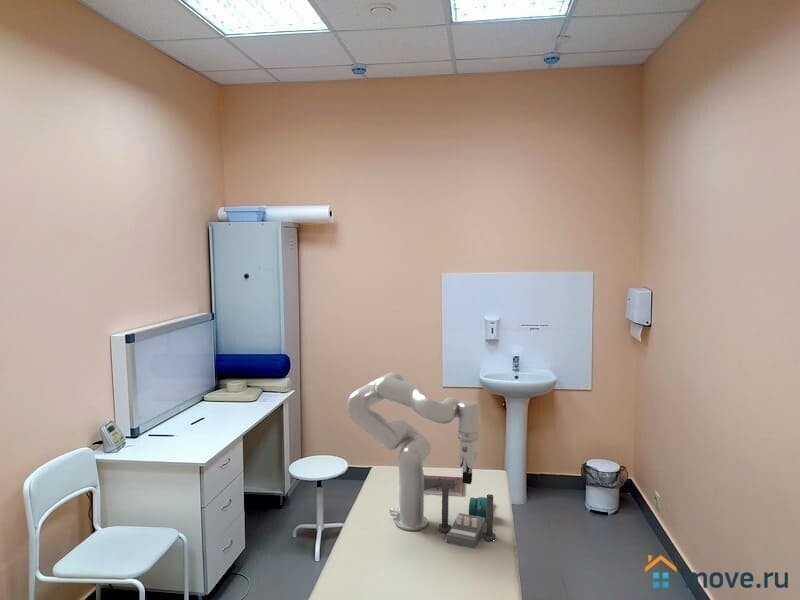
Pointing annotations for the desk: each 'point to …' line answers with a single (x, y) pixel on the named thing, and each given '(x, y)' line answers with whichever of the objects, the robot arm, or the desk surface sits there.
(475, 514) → the teal block
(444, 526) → the post left
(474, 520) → the breaker bank
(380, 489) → the desk surface
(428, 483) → the picture frame
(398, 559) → the desk surface
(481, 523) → the breaker panel
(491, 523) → the post right
